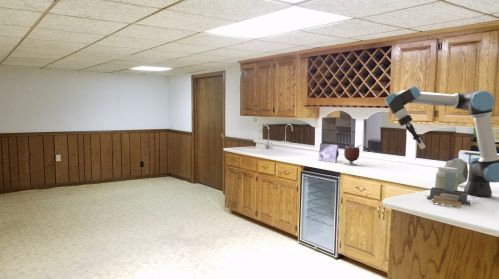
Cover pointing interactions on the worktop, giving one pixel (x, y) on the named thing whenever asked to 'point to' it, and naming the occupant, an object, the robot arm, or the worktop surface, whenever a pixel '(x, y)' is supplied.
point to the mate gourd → (351, 154)
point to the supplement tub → (441, 177)
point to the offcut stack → (447, 199)
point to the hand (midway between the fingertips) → (423, 148)
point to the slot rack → (439, 191)
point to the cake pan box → (328, 153)
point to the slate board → (449, 181)
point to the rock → (459, 169)
